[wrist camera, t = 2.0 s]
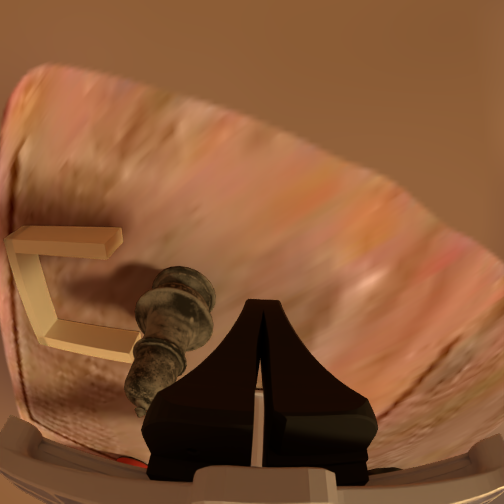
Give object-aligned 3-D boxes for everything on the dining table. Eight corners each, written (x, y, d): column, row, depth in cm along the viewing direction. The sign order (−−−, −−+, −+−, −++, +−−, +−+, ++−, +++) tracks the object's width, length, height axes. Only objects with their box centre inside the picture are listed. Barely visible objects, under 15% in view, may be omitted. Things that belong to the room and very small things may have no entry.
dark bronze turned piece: (155, 321, 26) (108, 434, 16) (143, 261, 24) (73, 372, 13) (221, 325, 26) (199, 449, 15) (217, 263, 24) (183, 390, 13)
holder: (141, 341, 28) (132, 363, 25) (52, 326, 28) (39, 343, 25) (121, 227, 23) (104, 244, 20) (22, 225, 23) (3, 239, 20)
